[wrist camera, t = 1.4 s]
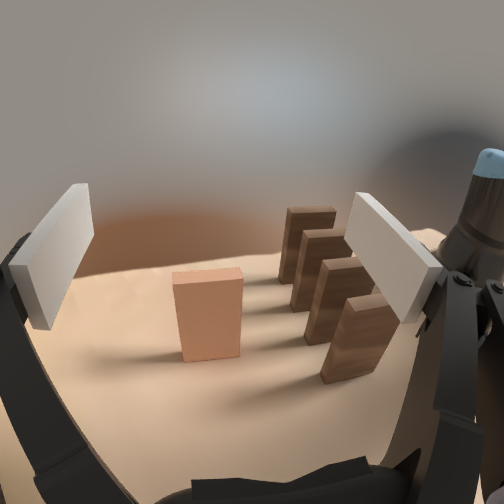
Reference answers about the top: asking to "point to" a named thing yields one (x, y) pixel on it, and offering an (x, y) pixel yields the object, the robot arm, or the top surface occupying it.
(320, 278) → the domino
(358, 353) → the domino
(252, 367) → the top surface
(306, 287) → the domino
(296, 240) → the domino
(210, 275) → the domino
